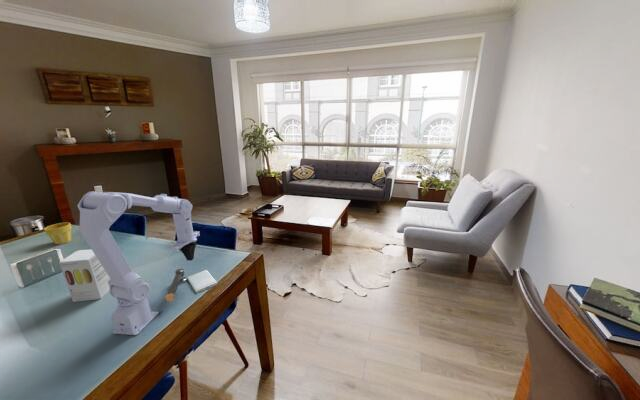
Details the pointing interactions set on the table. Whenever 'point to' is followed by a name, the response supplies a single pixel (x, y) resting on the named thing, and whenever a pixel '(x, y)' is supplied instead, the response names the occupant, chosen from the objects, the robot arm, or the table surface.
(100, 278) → the supplement box
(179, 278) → the grey bar
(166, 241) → the table surface
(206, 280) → the hard drive
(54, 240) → the plant pot
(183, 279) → the door knob
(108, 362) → the table surface
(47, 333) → the table surface
